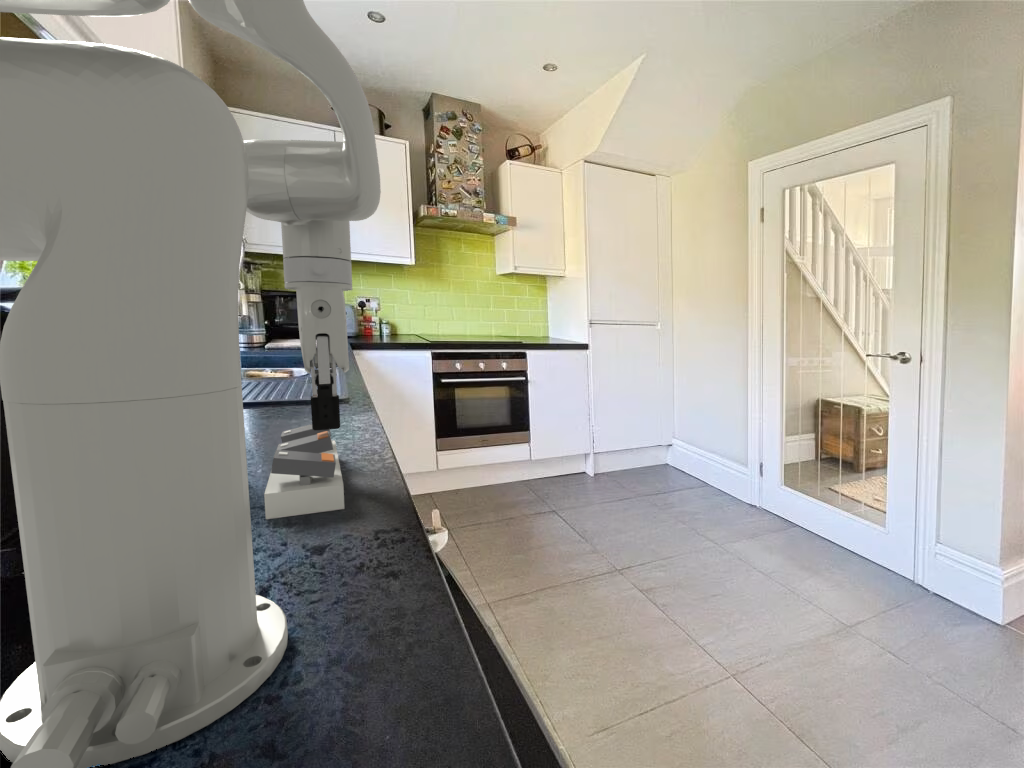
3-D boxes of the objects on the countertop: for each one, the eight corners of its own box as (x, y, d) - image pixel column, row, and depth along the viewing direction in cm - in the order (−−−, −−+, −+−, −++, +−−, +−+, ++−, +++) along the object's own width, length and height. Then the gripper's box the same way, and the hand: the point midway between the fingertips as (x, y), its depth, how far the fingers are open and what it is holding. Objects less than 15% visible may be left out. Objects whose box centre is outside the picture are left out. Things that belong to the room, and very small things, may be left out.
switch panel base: (344, 508, 51) (343, 476, 51) (265, 519, 48) (263, 485, 48) (335, 457, 71) (334, 434, 71) (280, 463, 68) (278, 438, 68)
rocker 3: (333, 477, 51) (336, 461, 51) (270, 473, 49) (273, 456, 49) (332, 468, 55) (334, 453, 55) (273, 464, 52) (276, 448, 52)
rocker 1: (331, 436, 66) (327, 423, 66) (283, 448, 64) (280, 435, 64) (330, 430, 69) (327, 419, 69) (285, 442, 67) (282, 430, 67)
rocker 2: (333, 449, 59) (329, 435, 58) (279, 463, 57) (276, 449, 56) (332, 442, 62) (328, 429, 62) (281, 456, 60) (278, 443, 60)
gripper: (356, 272, 52) (363, 438, 55) (347, 282, 66) (353, 415, 68) (280, 269, 50) (290, 445, 52) (287, 281, 63) (295, 419, 66)
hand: (326, 428), depth 60 cm, fingers closed
